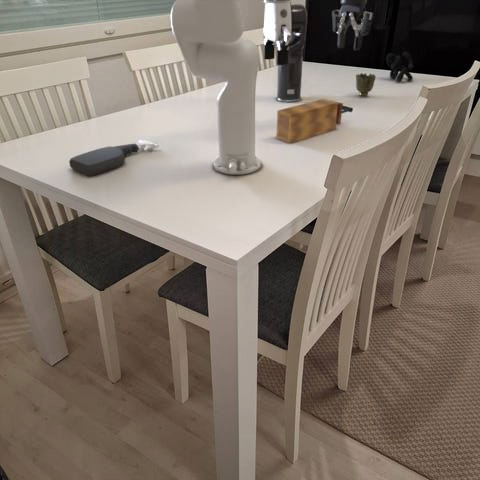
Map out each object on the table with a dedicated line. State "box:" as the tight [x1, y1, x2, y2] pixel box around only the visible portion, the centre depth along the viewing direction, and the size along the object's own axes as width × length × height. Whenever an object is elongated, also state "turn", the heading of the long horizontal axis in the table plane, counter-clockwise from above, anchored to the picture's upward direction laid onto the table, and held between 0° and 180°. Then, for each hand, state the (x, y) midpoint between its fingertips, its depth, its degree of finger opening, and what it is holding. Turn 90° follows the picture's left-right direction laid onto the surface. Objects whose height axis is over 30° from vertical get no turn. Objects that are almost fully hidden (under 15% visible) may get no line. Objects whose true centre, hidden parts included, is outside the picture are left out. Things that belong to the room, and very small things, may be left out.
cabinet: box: [276, 98, 339, 144], centre depth 139 cm, size 20×6×9 cm, turn 128°
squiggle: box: [385, 51, 414, 83], centre depth 198 cm, size 11×10×15 cm
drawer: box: [333, 100, 354, 126], centre depth 142 cm, size 25×5×7 cm, turn 128°
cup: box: [355, 73, 377, 97], centre depth 176 cm, size 8×7×8 cm
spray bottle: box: [68, 139, 160, 177], centre depth 124 cm, size 3×11×24 cm
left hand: (275, 61), depth 132 cm, fingers open, 9 cm apart
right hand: (348, 48), depth 137 cm, fingers open, 5 cm apart
